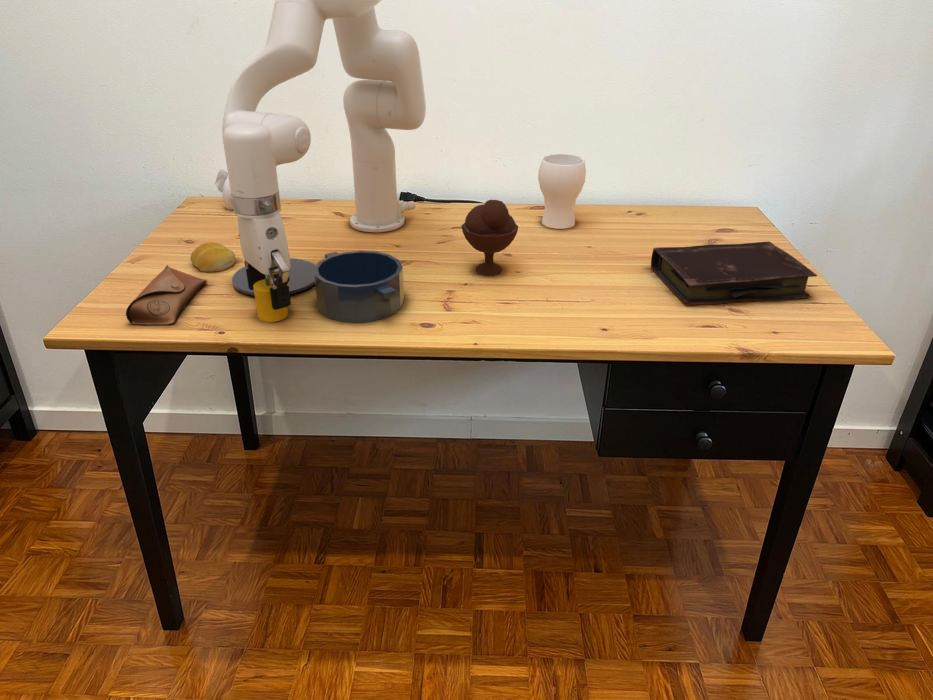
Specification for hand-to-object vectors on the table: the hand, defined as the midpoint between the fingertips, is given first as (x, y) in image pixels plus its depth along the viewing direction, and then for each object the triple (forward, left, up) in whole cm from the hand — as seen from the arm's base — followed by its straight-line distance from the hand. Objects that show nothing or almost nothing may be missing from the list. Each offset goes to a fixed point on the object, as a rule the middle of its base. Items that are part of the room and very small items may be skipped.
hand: (269, 297), depth 127 cm
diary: (-77, +40, -4) cm, 87 cm away
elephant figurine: (-19, -58, -4) cm, 61 cm away
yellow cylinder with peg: (0, 0, -4) cm, 4 cm away
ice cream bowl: (-43, +8, -4) cm, 44 cm away
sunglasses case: (+12, -16, -4) cm, 21 cm away
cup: (-73, -3, -4) cm, 73 cm away
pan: (-15, +5, -4) cm, 16 cm away
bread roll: (0, -28, -4) cm, 28 cm away
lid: (-7, -13, -3) cm, 15 cm away
